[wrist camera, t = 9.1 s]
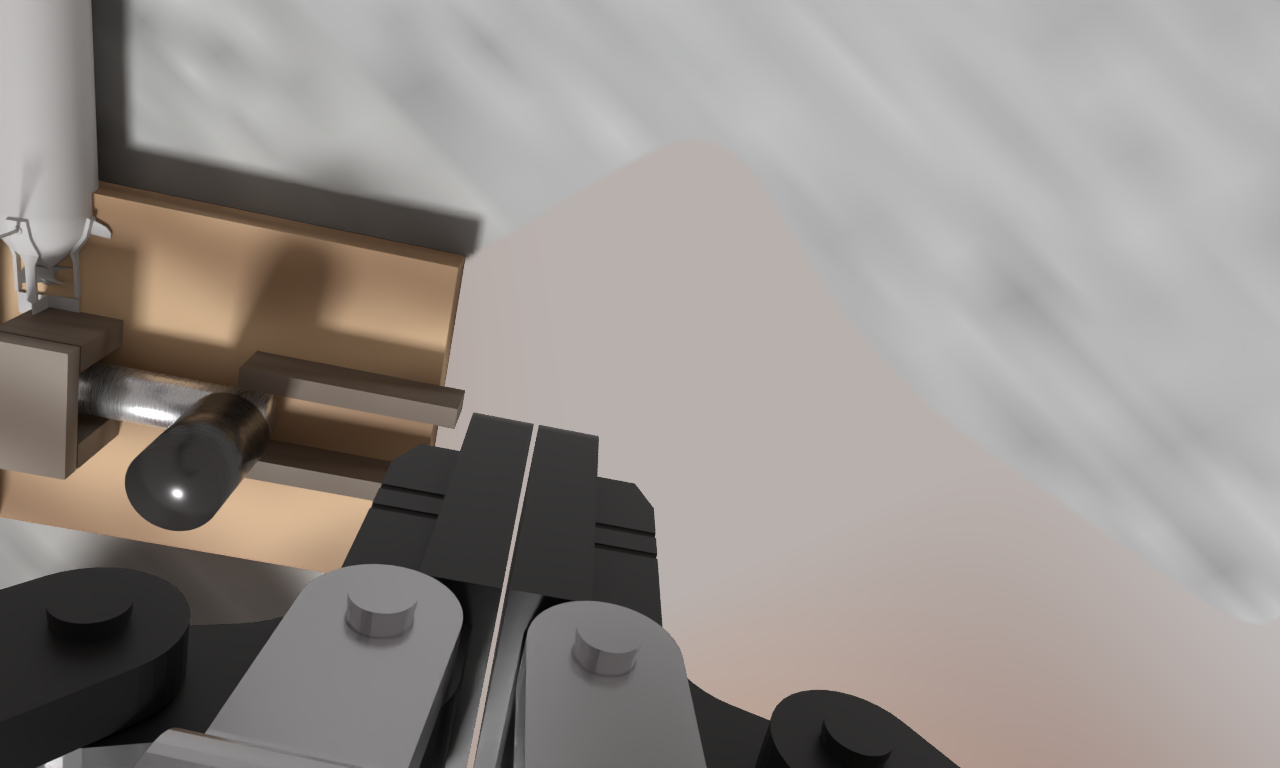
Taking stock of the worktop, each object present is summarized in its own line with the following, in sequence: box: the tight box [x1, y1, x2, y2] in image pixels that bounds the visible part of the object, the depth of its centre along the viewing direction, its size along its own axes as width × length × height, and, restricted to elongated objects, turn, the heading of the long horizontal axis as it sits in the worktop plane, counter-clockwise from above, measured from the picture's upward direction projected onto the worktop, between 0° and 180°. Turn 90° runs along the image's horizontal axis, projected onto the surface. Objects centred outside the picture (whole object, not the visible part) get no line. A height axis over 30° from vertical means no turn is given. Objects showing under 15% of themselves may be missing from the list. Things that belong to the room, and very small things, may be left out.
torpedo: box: [0, 0, 112, 315], centre depth 33 cm, size 18×5×6 cm, turn 172°
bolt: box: [78, 362, 277, 531], centre depth 35 cm, size 3×10×7 cm, turn 78°
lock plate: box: [0, 181, 466, 573], centre depth 38 cm, size 14×21×6 cm, turn 78°
